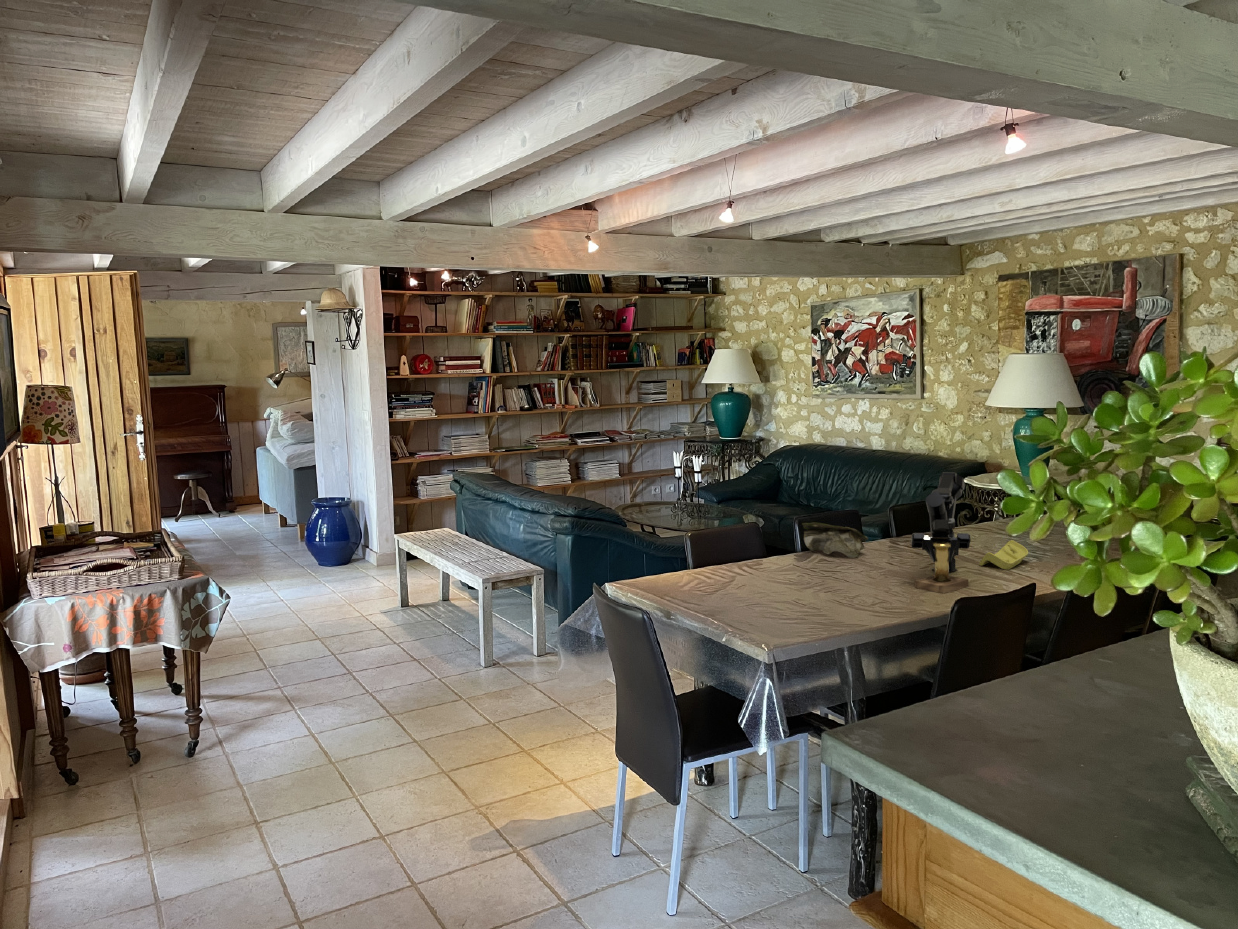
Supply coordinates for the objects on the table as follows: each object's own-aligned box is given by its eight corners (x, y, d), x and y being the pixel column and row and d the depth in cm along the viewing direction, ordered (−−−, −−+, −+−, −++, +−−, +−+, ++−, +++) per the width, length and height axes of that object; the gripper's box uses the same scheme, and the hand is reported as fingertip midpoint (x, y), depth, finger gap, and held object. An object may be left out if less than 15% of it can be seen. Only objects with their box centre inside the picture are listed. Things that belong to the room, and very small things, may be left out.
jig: (915, 587, 303) (915, 580, 302) (939, 580, 311) (939, 574, 311) (943, 593, 294) (943, 586, 294) (968, 586, 302) (968, 579, 302)
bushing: (929, 579, 303) (929, 543, 302) (939, 577, 306) (939, 541, 305) (944, 582, 298) (944, 546, 297) (954, 580, 302) (954, 543, 300)
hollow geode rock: (802, 560, 371) (786, 538, 364) (815, 536, 377) (799, 514, 369) (861, 568, 350) (845, 545, 343) (873, 542, 356) (858, 519, 348)
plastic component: (1009, 564, 321) (985, 549, 327) (1001, 581, 325) (976, 566, 331) (1032, 551, 335) (1008, 537, 341) (1024, 567, 338) (1000, 553, 344)
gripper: (911, 509, 306) (914, 548, 296) (970, 510, 301) (974, 549, 292) (910, 528, 314) (912, 566, 305) (966, 528, 310) (970, 567, 300)
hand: (942, 561), depth 300 cm, fingers closed on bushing, 5 cm apart
